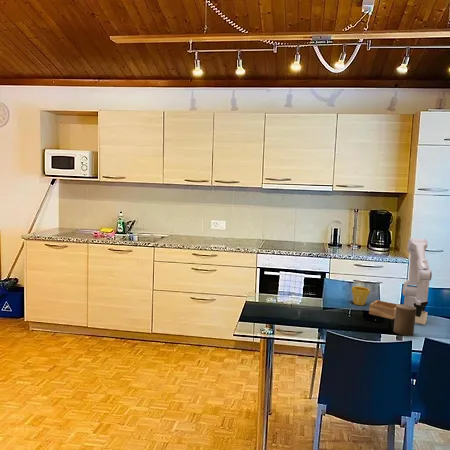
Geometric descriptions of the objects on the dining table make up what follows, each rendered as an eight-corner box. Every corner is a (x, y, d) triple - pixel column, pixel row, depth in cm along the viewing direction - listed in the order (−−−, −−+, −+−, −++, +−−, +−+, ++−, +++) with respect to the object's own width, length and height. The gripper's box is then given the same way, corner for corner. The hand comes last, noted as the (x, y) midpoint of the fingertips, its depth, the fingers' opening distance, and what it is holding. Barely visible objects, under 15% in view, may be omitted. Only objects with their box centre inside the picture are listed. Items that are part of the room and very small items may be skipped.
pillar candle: (413, 337, 233) (417, 308, 231) (392, 333, 236) (396, 304, 235) (413, 331, 242) (416, 303, 240) (393, 328, 245) (396, 300, 244)
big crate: (375, 308, 279) (376, 300, 279) (399, 314, 272) (400, 305, 271) (368, 313, 268) (369, 304, 268) (392, 319, 261) (394, 309, 260)
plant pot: (369, 303, 290) (371, 288, 289) (365, 307, 281) (367, 291, 280) (353, 300, 295) (354, 285, 294) (348, 303, 286) (350, 288, 285)
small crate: (413, 319, 263) (414, 309, 263) (426, 322, 260) (427, 312, 259) (411, 321, 259) (412, 311, 259) (424, 324, 255) (425, 314, 255)
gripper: (417, 287, 266) (414, 310, 267) (411, 292, 254) (408, 316, 255) (431, 290, 262) (428, 313, 263) (425, 294, 250) (422, 319, 251)
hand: (419, 315), depth 259 cm, fingers open, 7 cm apart
